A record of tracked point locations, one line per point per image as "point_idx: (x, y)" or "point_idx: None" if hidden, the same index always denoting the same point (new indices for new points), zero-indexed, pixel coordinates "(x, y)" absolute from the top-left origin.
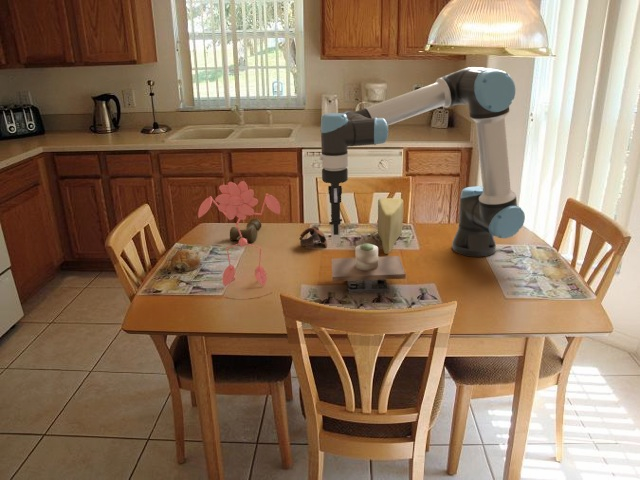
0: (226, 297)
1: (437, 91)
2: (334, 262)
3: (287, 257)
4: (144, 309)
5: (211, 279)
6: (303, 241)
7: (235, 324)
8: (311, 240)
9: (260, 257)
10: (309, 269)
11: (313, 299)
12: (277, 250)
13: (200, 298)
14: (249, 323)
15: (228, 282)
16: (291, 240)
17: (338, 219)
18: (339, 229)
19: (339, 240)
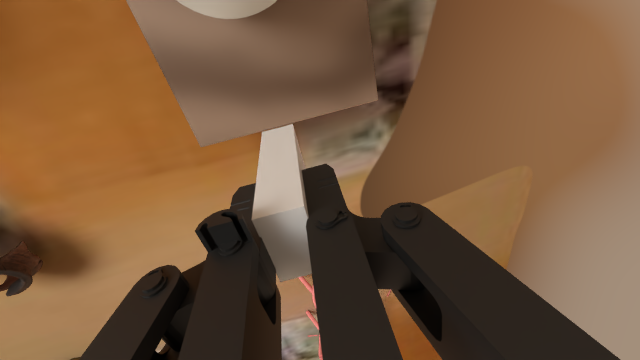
0: (389, 292)
1: None
2: (236, 125)
3: (136, 270)
4: (431, 355)
5: (315, 337)
6: (31, 276)
7: (495, 241)
8: (11, 259)
9: None
10: (191, 196)
11: (386, 131)
12: (103, 303)
13: (393, 320)
14: (495, 222)
15: None
16: (2, 301)
17: (472, 259)
18: (301, 179)
19: (295, 139)
